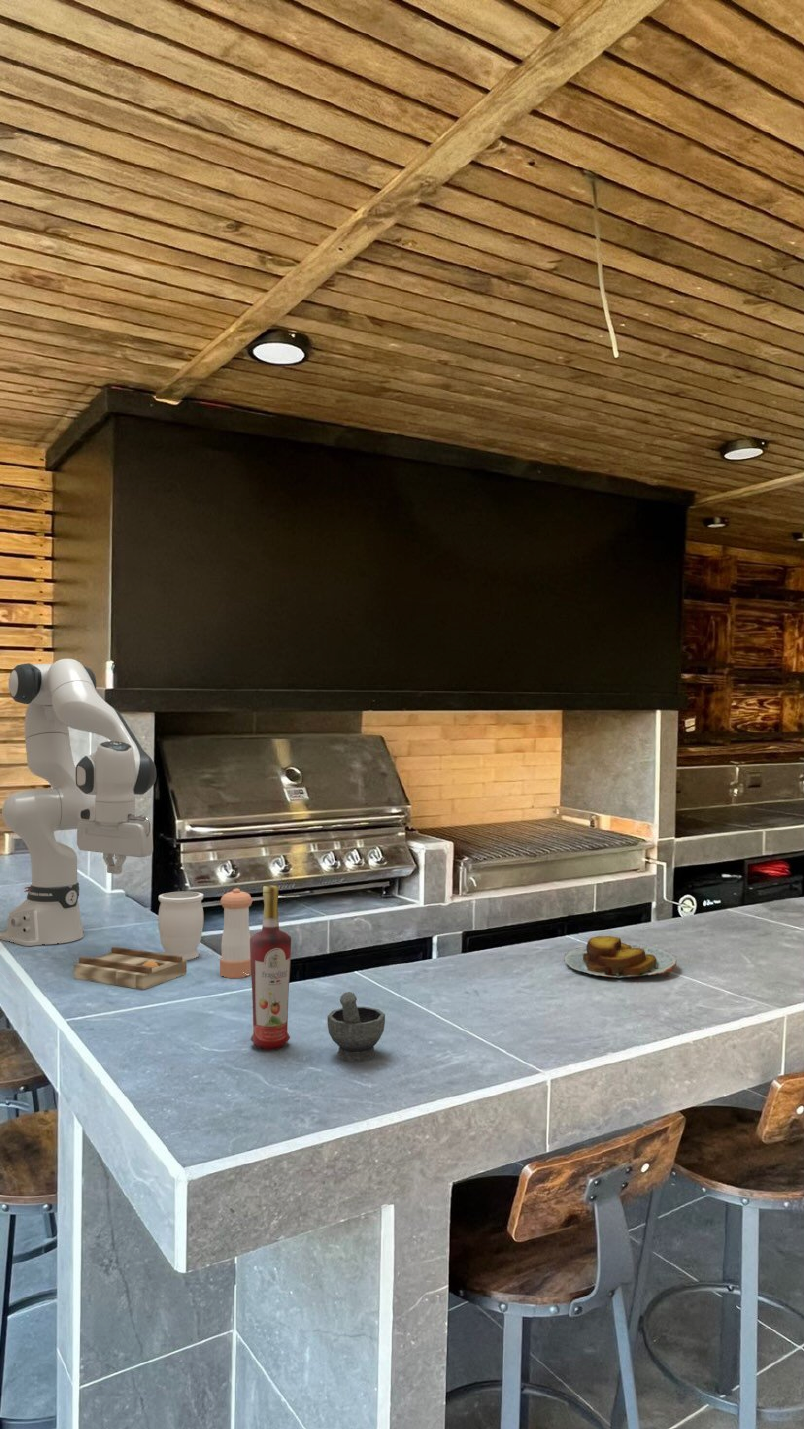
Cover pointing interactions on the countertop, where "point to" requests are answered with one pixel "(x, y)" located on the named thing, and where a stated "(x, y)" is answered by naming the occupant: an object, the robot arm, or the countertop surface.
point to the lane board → (130, 968)
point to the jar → (181, 923)
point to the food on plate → (619, 958)
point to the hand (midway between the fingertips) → (114, 873)
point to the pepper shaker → (236, 935)
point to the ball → (150, 964)
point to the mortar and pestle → (355, 1029)
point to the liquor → (270, 977)
